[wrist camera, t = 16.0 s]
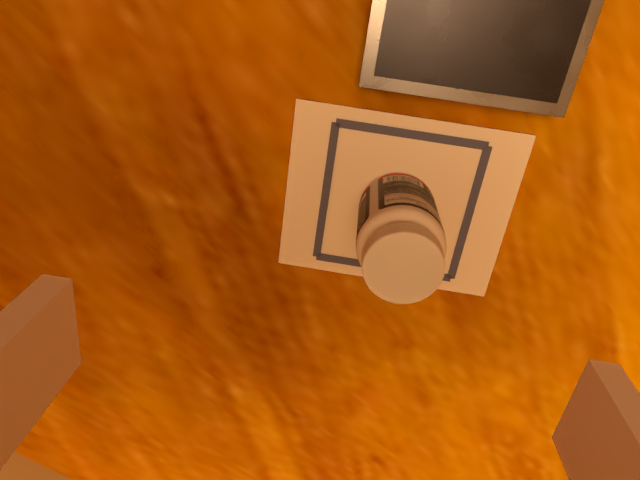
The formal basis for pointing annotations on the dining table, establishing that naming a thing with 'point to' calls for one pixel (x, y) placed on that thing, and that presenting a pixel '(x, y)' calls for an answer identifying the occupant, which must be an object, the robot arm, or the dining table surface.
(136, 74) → the dining table surface
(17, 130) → the dining table surface
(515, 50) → the ink pad
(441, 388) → the dining table surface
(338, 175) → the print card
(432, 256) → the pill bottle
